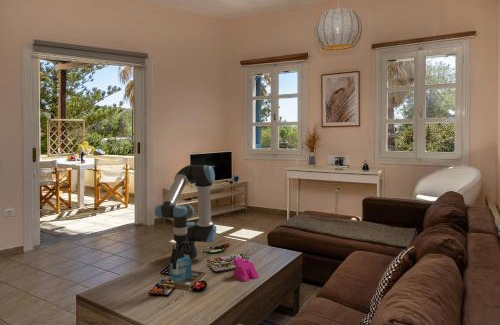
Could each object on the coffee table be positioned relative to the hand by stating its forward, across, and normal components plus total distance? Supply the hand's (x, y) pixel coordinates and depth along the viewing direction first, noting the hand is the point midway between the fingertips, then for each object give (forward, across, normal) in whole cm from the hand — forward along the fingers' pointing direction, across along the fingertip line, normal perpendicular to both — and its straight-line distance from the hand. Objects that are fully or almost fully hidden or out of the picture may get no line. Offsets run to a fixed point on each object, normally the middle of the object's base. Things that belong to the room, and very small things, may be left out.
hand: (181, 269), depth 217 cm
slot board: (+9, -4, 0) cm, 10 cm away
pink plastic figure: (+9, -23, +32) cm, 40 cm away
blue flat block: (+6, 0, 0) cm, 6 cm away
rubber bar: (+8, -9, 0) cm, 12 cm away
